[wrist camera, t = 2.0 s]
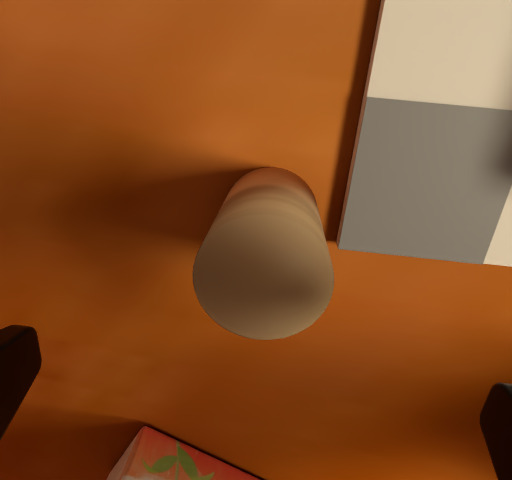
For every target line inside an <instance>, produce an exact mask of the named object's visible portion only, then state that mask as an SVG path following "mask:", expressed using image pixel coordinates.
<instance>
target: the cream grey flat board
mask: <svg viewBox="0 0 512 480" xmlns="http://www.w3.org/2000/svg"><path fill="white" fill-rule="evenodd" d="M336 243H337V247H338V249H344V250H353V251H362V252H372V253H381V254H390V255H400V256H409V257H418V258H428V259H437V260H446V261H456V262H465V263H474V264H493V265H502V266H511V267H512V0H381V5H380V10H379V15H378V21H377V26H376V31H375V37H374V42H373V47H372V53H371V58H370V64H369V69H368V74H367V80H366V85H365V90H364V96H363V101H362V106H361V112H360V117H359V123H358V128H357V133H356V139H355V144H354V149H353V155H352V160H351V165H350V171H349V176H348V182H347V187H346V192H345V198H344V203H343V208H342V214H341V219H340V224H339V230H338V235H337V241H336Z"/></svg>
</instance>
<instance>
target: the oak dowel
mask: <svg viewBox="0 0 512 480" xmlns="http://www.w3.org/2000/svg"><path fill="white" fill-rule="evenodd" d="M193 284H194V289H195V293H196V295H197V298H198V300H199V302H200V304H201V306H202V307H203V309H204V310H205V312H206V313H207V314H208V315H209V316H210V317H211V318H212V319H213V320H214V321H215V322H216V323H218V324H219V325H220V326H222V327H223V328H225V329H227V330H229V331H230V332H232V333H235V334H237V335H240V336H243V337H247V338H252V339H261V340H271V339H279V338H284V337H288V336H291V335H294V334H296V333H299V332H300V331H302V330H304V329H306V328H307V327H309V326H310V325H312V324H313V323H314V322H315V321H316V320H317V319H318V318H319V317H320V316H321V315H322V313H323V312H324V311H325V309H326V307H327V306H328V304H329V301H330V299H331V296H332V292H333V287H334V272H333V266H332V262H331V258H330V254H329V250H328V246H327V243H326V239H325V235H324V231H323V227H322V223H321V219H320V215H319V211H318V207H317V203H316V200H315V197H314V194H313V192H312V190H311V189H310V187H309V186H308V185H307V184H306V182H305V181H304V180H303V179H301V178H300V177H299V176H297V175H296V174H294V173H292V172H290V171H288V170H285V169H282V168H276V167H266V168H260V169H256V170H253V171H250V172H249V173H247V174H245V175H243V176H242V177H241V178H240V179H238V180H237V181H236V182H235V184H234V185H233V186H232V188H231V189H230V191H229V193H228V195H227V197H226V199H225V200H224V202H223V204H222V206H221V208H220V210H219V212H218V214H217V216H216V218H215V220H214V222H213V224H212V226H211V228H210V230H209V231H208V233H207V235H206V237H205V239H204V241H203V243H202V245H201V247H200V249H199V251H198V253H197V256H196V258H195V262H194V266H193Z"/></svg>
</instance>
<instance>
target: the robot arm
mask: <svg viewBox="0 0 512 480" xmlns="http://www.w3.org/2000/svg"><path fill="white" fill-rule="evenodd" d="M41 361H42V360H41V353H40V348H39V342H38V336H37V332H36V330H35V329H34V328H33V327H30V326H21V325H10V326H8V327H5V328H3V329H0V440H1V438H2V436H3V435H4V433H5V431H6V429H7V428H8V426H9V424H10V422H11V420H12V419H13V417H14V415H15V413H16V412H17V410H18V408H19V406H20V404H21V403H22V401H23V399H24V397H25V396H26V394H27V392H28V390H29V388H30V387H31V385H32V383H33V381H34V380H35V378H36V376H37V374H38V372H39V370H40V367H41ZM480 426H481V429H482V432H483V435H484V438H485V441H486V445H487V448H488V451H489V454H490V457H491V460H492V463H493V466H494V469H495V472H496V475H497V478H498V480H512V384H509V383H496V384H494V385H493V386H492V388H491V390H490V392H489V394H488V397H487V399H486V401H485V403H484V406H483V408H482V410H481V413H480Z"/></svg>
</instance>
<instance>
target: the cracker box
mask: <svg viewBox="0 0 512 480" xmlns="http://www.w3.org/2000/svg"><path fill="white" fill-rule="evenodd" d="M106 480H260V479H258V478H256V477H254V476H252V475H249V474H247V473H245V472H243V471H241V470H239V469H237V468H234V467H232V466H230V465H228V464H226V463H224V462H222V461H220V460H218V459H215V458H213V457H211V456H209V455H207V454H205V453H202V452H200V451H198V450H196V449H194V448H192V447H190V446H188V445H186V444H184V443H181V442H179V441H177V440H175V439H173V438H171V437H169V436H167V435H164V434H162V433H160V432H158V431H156V430H154V429H152V428H149V427H147V426H143V427H142V428H141V429H140V431H139V432H138V434H137V435H136V436H135V438H134V439H133V441H132V442H131V444H130V445H129V447H128V448H127V449H126V451H125V452H124V454H123V455H122V456H121V458H120V459H119V461H118V462H117V463H116V465H115V466H114V468H113V469H112V471H111V472H110V473H109V474H108V476H107V479H106Z"/></svg>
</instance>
